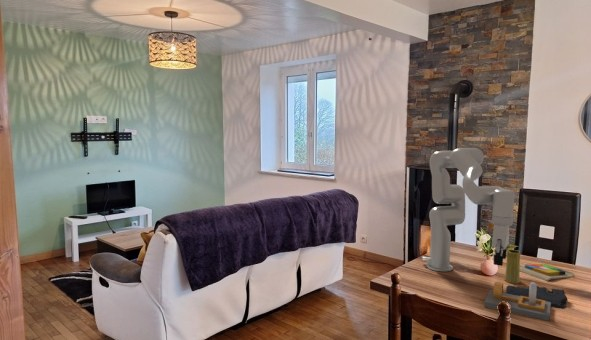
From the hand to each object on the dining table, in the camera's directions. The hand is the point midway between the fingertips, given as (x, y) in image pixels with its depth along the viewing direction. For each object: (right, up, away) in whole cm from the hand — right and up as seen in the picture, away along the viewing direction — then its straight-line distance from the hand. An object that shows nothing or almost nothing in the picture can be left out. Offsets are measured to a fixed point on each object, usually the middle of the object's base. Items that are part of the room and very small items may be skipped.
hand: (499, 261), depth 165 cm
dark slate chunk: (+18, -17, +7) cm, 26 cm away
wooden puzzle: (+40, -14, +36) cm, 56 cm away
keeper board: (+6, -18, -2) cm, 19 cm away
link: (+6, -16, -3) cm, 17 cm away
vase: (+18, -15, +25) cm, 35 cm away
